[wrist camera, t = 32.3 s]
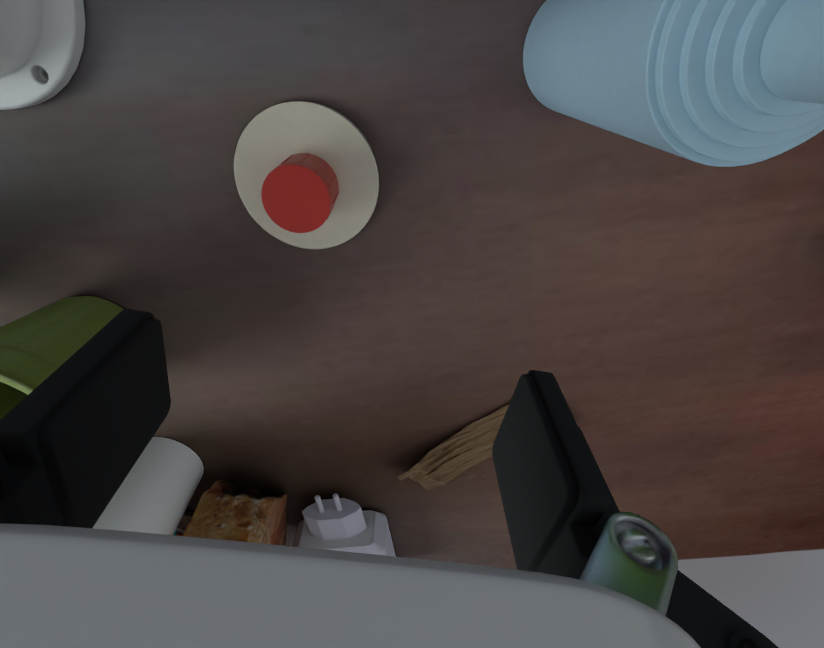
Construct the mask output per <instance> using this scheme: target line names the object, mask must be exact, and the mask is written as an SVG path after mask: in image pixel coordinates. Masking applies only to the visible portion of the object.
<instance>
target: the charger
mask: <svg viewBox="0 0 824 648" xmlns="http://www.w3.org/2000/svg"><path fill="white" fill-rule="evenodd" d="M314 498H315V501H316V503H314V504H312V505H310V506H307V507H306V508H305V509H304V510H303V511H302V514H303V517H304V519H303V520H302V521H301V522H300V523H299V524H298V527H297V531H296V536H295V540H294V544H293V547H303V548H314V549H324V550H334V551H344V552H355V553H365V554H375V555H385V556H394V557H396V555H395V551H394V547H393V543H392V538H391V534H390V530H389V526H388V522H387V518H386V516H385V515H384V514H382V513H380V512H376V511H372V510H367V511H362V509H361V507H360V506H359V504H358V503H357V502H354V501H351V500H349V499H346V498H339V496H338V494H334V495H333V499H324V500H321V498H320V496H319V495H316V496H315V497H314Z"/></svg>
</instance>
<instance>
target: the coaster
mask: <svg viewBox="0 0 824 648" xmlns="http://www.w3.org/2000/svg"><path fill="white" fill-rule="evenodd" d="M300 153H310V154H313V155H315V156H318V157H320V158H322V159H323V160H324V161H326V162H327V163H328V164H329V165H330V166H331V168H332V169H333V171H334V172H335V174H336V177H337V180H338V185H339V194H338V197H337V200H336V202H335V204H334V208H333V210H332V211H331V213H330V215H329V217H328V219H326V221H325V222H324V223H323V225H321V226H320V227H319V228H317V229H316V230H314V231H311V232H308V233H294V232H290V231H287V230H285V229H283V228H281V227H280V226H278V225H277V224H276V223H274V222H273V221H272V220H271V218H270V217H269V216H268V214H267V213H266V211H265V209H264V206H263V203H262V198H261V190H262V185H263V182H264V180H265V178H266V177H267V175H268V173H270V172H271V171H272V170H273V169H275V168H276V167H277V166H278V165H280V164H281V163H282V162H283V161H284V160H286V159H287V158H288V157H289V156H291V155H295V154H300ZM234 176H235V182H236V186H237V189H238V192H239V195H240V198H241V200H242V202H243V204H244V206H245V207H246V209H247V211H248V212H249V214H250V215H251V216H252V218H253V219H254V220H255V221H256V222H257V223H258V224H259V225H260V226H261V227H262V228H263V229H264V230H265V231H267V232H268V233H269V234H270V235H272V236H274V237H275V238H277V239H279V240H281V241H283V242H285V243H287V244H290V245H293V246H296V247H300V248H306V249H324V248H330V247H334V246H337V245H340V244H342V243H344V242H346V241H348V240H350V239H351V238H353V237H354V236H355V235H357V234H358V233H359V232H360V231H361V230H362V229H363V228H364V227H365V225H366V224H367V222H368V221H369V219H370V218H371V216H372V214H373V212H374V209H375V206H376V203H377V199H378V194H379V171H378V166H377V162H376V159H375V155H374V153H373V151H372V149H371V146H370V144H369V143H368V141H367V139H366V138H365V136H364V135H363V134H362V132H361V131H360V130H359V129H358V128H357V127H356V126H355V125H354V124H353V123H352V122H351V121H350V120H349V119H348V118H346V117H345V116H344V115H343V114H341V113H339V112H338V111H336V110H334V109H332V108H330V107H328V106H325V105H323V104H319V103H315V102H310V101H289V102H283V103H280V104H277V105H274V106H271V107H269V108H267V109H265V110H264V111H262V112H261V113H259V114H258V115H257V116H255V117H254V118H253V119H252V120H251V121H250V122H249V124H248V125H247V126H246V128H245V129H244V131H243V132H242V134H241V136H240V138H239V141H238V144H237V147H236V151H235V156H234Z"/></svg>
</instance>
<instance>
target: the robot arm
mask: <svg viewBox="0 0 824 648" xmlns="http://www.w3.org/2000/svg"><path fill="white" fill-rule="evenodd" d="M84 36H85V13H84V3H83V0H0V110H8V109H19V108H24V107H29V106H34V105H38V104H40V103H42V102H44V101H46V100H48V99H50V98H52V97H54V96H55V95H56V94H57V93H58V92H60V91H61V90H62V89H63V88H64V87H65V86H66V85H67V84H68V82H69V81H70V79H71V77H72V76H73V74H74V73H75V71H76V69H77V67H78V64H79V61H80V58H81V54H82V51H83V48H84ZM170 404H171V399H170V391H169V383H168V375H167V367H166V359H165V351H164V343H163V334H162V326H161V322H160V321H159V320H157V319H154V316H153V314H152V313H150V312H143V311H137V310H130V309H124V310H122V311H121V312H120V313H119V314H118V315H116V316H115V317H114V318H113V319H112V320H111V321H110V322H109V323H108V324H106V325H105V326H104V327H103V328H102V329H101V330H100V331H99V332H98V333H96V334H95V335H94V336H93V337H92V338H91V339H90V340H89V341H88V342H86V343H85V344H84V345H83V346H82V347H81V348H80V349H79V350H78V351H76V352H75V353H74V354H73V355H72V356H71V357H70V358H69V359H68V360H66V361H65V362H64V363H63V364H62V365H61V366H60V367H59V368H58V369H56V370H55V371H54V372H53V373H52V374H51V375H50V376H49V377H48V378H46V379H45V380H44V381H43V382H42V383H41V384H40V385H39V386H38V387H36V388H35V389H34V390H33V391H32V392H31V393H30V394H29V395H28V396H26V397H25V398H24V399H23V400H22V401H21V402H20V403H19V404H18V405H16V406H15V407H14V408H13V409H12V410H11V411H10V412H9V413H8V414H6V415H5V416H4V417H3V418H2V419H1V420H0V648H778V647H777V646H776V645H775V644H773V643H772V642H771V641H770V640H769V639H768V638H767V637H766V636H764V635H763V634H762V633H760V632H759V631H758V630H756V629H755V628H754V627H753V626H751V625H750V624H749V623H747V622H746V621H744V620H743V619H742V618H741V617H739V616H738V615H736V614H735V613H734V612H733V611H731V610H730V609H729V608H727V607H726V606H724V605H723V604H722V603H721V602H719V601H718V600H717V599H716V598H714V597H713V596H712V595H710V594H709V593H707V592H706V591H705V590H704V589H702V588H701V587H700V586H698V585H697V584H696V583H694V582H693V581H692V580H690V579H689V578H688V577H686V576H685V575H684V574H683V573H681V572H680V571H679V570H678V556H677V553H676V550H675V548H674V546H673V545H672V543H671V541H670V540H669V538H668V537H667V536H666V535H665V534H664V533H663V532H662V531H661V529H660V528H658V527H657V526H656V525H654V524H653V523H652V522H651V521H649V520H647V519H645V518H644V517H642V516H640V515H637V514H634V513H631V512H619V510H618V507H617V505H616V503H615V501H614V499H613V497H612V495H611V493H610V490H609V488H608V486H607V484H606V482H605V480H604V478H603V476H602V473H601V471H600V469H599V467H598V465H597V463H596V461H595V459H594V456H593V454H592V452H591V450H590V448H589V446H588V444H587V442H586V440H585V437H584V435H583V433H582V431H581V430H580V428H579V427H578V426H577V424H576V422H575V420H574V417H573V415H572V413H571V411H570V409H569V407H568V405H567V402H566V400H565V398H564V396H563V394H562V392H561V390H560V387H559V385H558V383H557V381H556V379H555V377H554V375H553V374H552V373H549V372H542V371H536V370H530V371H529V372H528V374H527V375H526V374H523V375H522V376H521V377H520V379H519V382H518V384H517V387H516V389H515V391H514V394H513V396H512V399H511V401H510V404H509V406H508V409H507V411H506V413H505V416H504V418H503V421H502V423H501V426H500V428H499V431H498V433H497V435H496V438H495V440H494V443H493V447H492V456H493V461H494V465H495V470H496V474H497V479H498V484H499V488H500V493H501V497H502V502H503V506H504V511H505V516H506V520H507V525H508V529H509V534H510V538H511V543H512V547H513V552H514V557H515V561H516V566H517V570H515V569H507V568H498V567H490V566H482V565H473V564H463V563H453V562H443V561H434V560H424V559H414V558H404V557H394V556H385V555H375V554H365V553H355V552H344V551H334V550H324V549H314V548H303V547H293V546H282V545H272V544H262V543H251V542H241V541H230V540H219V539H208V538H197V537H186V536H175V535H164V534H153V533H142V532H131V531H120V530H106V529H93V526H94V525H95V523H96V522H97V520H98V519H99V517H100V516H101V514H102V513H103V511H104V510H105V508H106V507H107V505H108V504H109V502H110V501H111V499H112V498H113V496H114V495H115V493H116V492H117V490H118V489H119V487H120V486H121V484H122V483H123V481H124V480H125V478H126V477H127V475H128V473H129V472H130V470H131V469H132V467H133V466H134V464H135V463H136V461H137V460H138V458H139V457H140V455H141V454H142V452H143V451H144V449H145V448H146V446H147V445H148V443H149V442H150V440H151V439H152V437H153V436H154V434H155V433H156V431H157V430H158V428H159V427H160V425H161V424H162V422H163V421H164V419H165V418H166V416H167V414H168V412H169V409H170Z"/></svg>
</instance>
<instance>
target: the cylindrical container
mask: <svg viewBox="0 0 824 648" xmlns="http://www.w3.org/2000/svg"><path fill="white" fill-rule="evenodd" d="M203 472H204V467H203V463H202V461H201V459H200V458H199V457H198V455H197V454H196V453H195V452H194V451H193V450H191V449H190V448H189V447H187V446H185V445H184V444H182V443H180V442H177V441H175V440H172V439H168V438H163V437H152V439H151V440H150V442H149V443H148V445H147V446H146V448H145V449H144V451H143V452H142V454H141V455H140V457H139V458H138V460H137V461H136V463H135V464H134V466H133V467H132V469H131V470H130V472H129V473H128V475H127V477H126V478H125V480H124V481H123V483H122V484H121V486H120V487H119V489H118V490H117V492H116V493H115V495H114V496H113V498H112V499H111V501H110V502H109V504H108V505H107V507H106V508H105V510H104V511H103V513H102V514H101V516H100V517H99V519H98V520H97V522H96V523H95V525H94V526H93V529H106V530H120V531H131V532H142V533H153V534H164V535H173V534H174V532H175V530H176V528H177V526H178V524H179V522H180V520H181V518H182V516H183V514H184V512H185V510H186V508H187V506H188V504H189V502H190V500H191V498H192V496H193V494H194V492H195V490H196V488H197V486H198V484H199V482H200V480H201V478H202V476H203Z"/></svg>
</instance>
